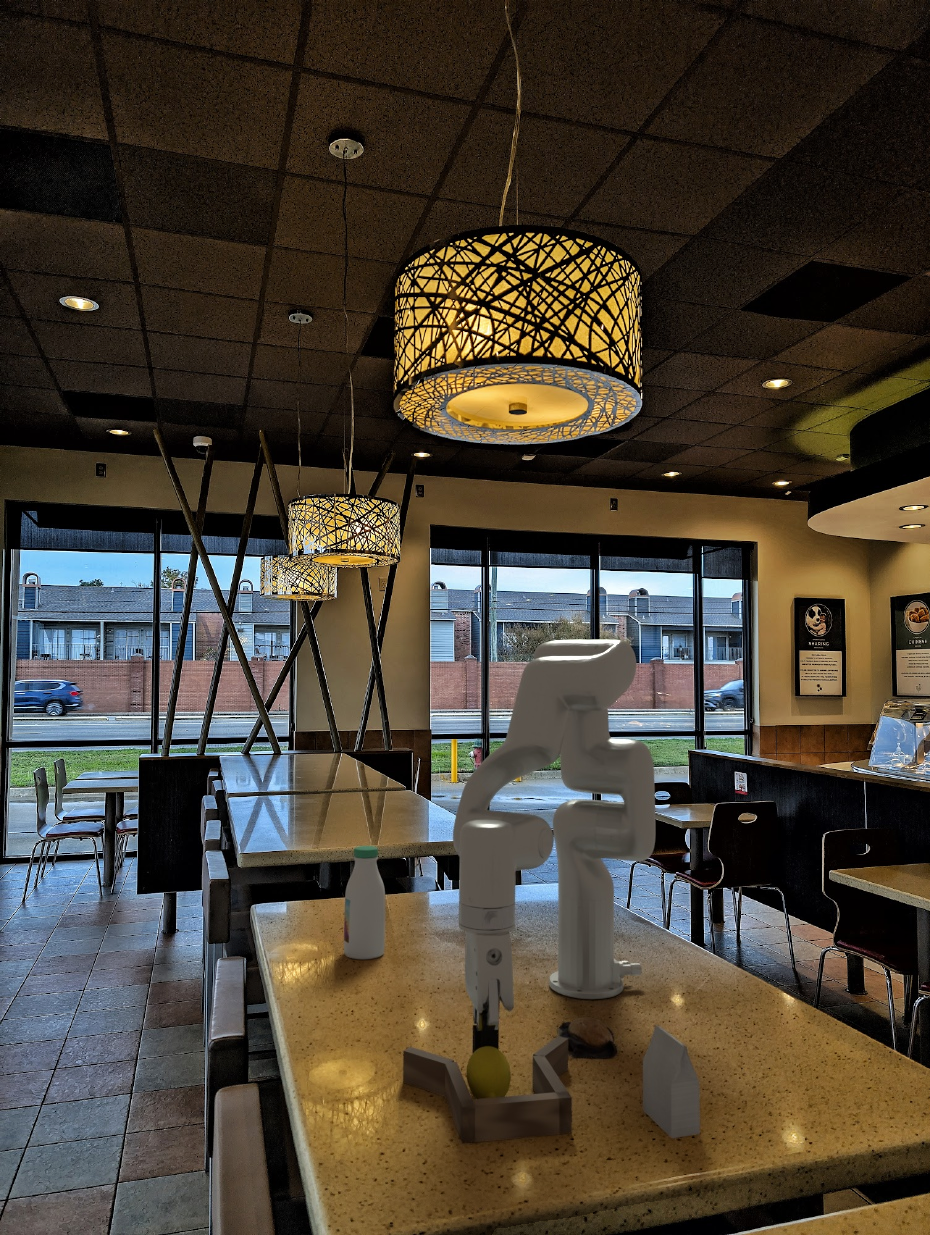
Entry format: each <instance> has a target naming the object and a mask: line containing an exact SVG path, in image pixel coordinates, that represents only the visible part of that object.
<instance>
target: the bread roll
mask: <svg viewBox="0 0 930 1235" xmlns="http://www.w3.org/2000/svg"><path fill="white" fill-rule="evenodd" d="M556 1032H557V1037H558V1036H560V1037H564V1038H568V1058H569V1057H570V1058H571V1059H580V1060H581V1059H585V1060H586V1059H590V1060H591V1059H594V1060H595V1059H597V1060H609V1059H613V1058H615V1057H618V1056H619V1052H618V1047H617V1045H616V1044H615V1036H614V1032H613V1031H612V1029H611V1028H610V1027H608V1026H606V1025H605V1024H604V1023H603V1022H602V1021H601V1020H599V1019H597V1018H595V1017H589V1016H588V1017H577V1018H575V1019H574V1020H571V1021H563V1023H561V1025H560V1026H558V1027H557V1028H556Z"/></svg>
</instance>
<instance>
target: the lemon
mask: <svg viewBox="0 0 930 1235" xmlns="http://www.w3.org/2000/svg"><path fill="white" fill-rule="evenodd" d="M466 1064H467V1065H466V1080H467V1084H468V1089H469V1091H470V1092H471V1094H472V1095H473V1097H474V1099H483V1098H495V1097H506V1096H507V1094H508V1092H509V1090H510V1085H511V1080H512V1079H511V1078H512V1075H511V1074H512V1073H511V1067H510V1064H509V1061H508V1059H507V1057H506V1056H505V1054H504V1053H503V1052H502V1051H501V1050H500V1049H499V1050H498V1049H497V1048H494V1047H491V1046H485V1047H481V1048H479V1049H477V1050H476V1051H475V1052H474V1053H473V1054H471V1055H470V1056H469V1059H468V1061H467V1063H466Z"/></svg>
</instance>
